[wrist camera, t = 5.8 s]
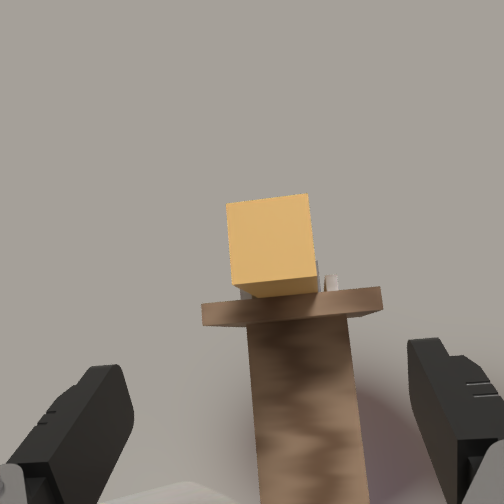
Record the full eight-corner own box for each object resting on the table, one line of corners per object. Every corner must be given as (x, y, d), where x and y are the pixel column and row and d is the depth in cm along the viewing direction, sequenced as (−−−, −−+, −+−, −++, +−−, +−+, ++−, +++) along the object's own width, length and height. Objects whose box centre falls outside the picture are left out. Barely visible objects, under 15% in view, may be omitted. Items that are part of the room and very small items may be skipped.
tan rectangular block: (226, 285, 21) (220, 204, 21) (275, 308, 43) (271, 268, 44) (323, 275, 20) (314, 192, 21) (322, 304, 42) (317, 263, 43)
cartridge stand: (184, 883, 24) (158, 290, 30) (237, 666, 40) (213, 304, 46) (530, 914, 22) (425, 263, 28) (443, 670, 37) (387, 287, 44)
